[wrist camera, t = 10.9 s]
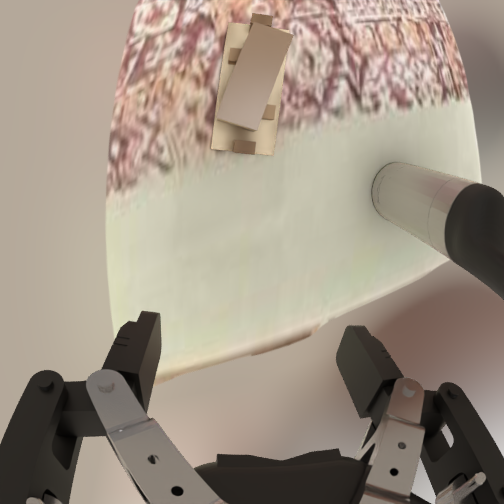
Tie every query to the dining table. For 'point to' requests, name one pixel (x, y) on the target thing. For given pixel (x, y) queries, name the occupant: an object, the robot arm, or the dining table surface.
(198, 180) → the dining table surface
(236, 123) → the brown rectangular box
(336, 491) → the robot arm
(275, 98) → the display cradle
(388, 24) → the dining table surface
